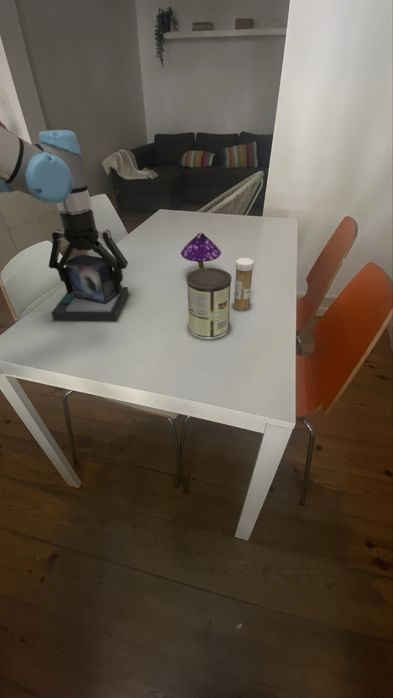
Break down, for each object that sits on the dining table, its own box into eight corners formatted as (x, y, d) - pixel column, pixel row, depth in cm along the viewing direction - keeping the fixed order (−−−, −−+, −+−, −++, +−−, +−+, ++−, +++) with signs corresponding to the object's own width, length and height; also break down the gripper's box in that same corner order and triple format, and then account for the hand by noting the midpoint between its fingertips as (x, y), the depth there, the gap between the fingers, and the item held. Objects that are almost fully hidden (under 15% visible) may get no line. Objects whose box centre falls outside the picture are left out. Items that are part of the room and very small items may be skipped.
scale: (53, 320, 85) (50, 310, 83) (73, 293, 97) (70, 283, 95) (116, 321, 84) (114, 310, 82) (128, 294, 96) (127, 284, 94)
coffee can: (198, 314, 86) (197, 264, 78) (234, 322, 83) (237, 271, 74) (181, 334, 79) (178, 282, 70) (219, 344, 76) (221, 290, 67)
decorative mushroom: (186, 270, 109) (185, 225, 100) (222, 272, 107) (224, 227, 98) (177, 286, 99) (174, 238, 90) (217, 289, 97) (218, 241, 88)
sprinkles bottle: (250, 310, 87) (255, 263, 79) (234, 311, 87) (237, 264, 79) (247, 302, 91) (252, 256, 83) (232, 302, 91) (234, 257, 83)
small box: (73, 298, 88) (62, 262, 81) (87, 288, 92) (78, 253, 86) (105, 305, 84) (97, 267, 78) (118, 294, 89) (112, 258, 83)
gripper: (131, 205, 77) (142, 285, 90) (31, 206, 78) (56, 285, 91) (124, 214, 71) (137, 298, 84) (16, 214, 72) (45, 297, 85)
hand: (95, 291), depth 87 cm, fingers open, 13 cm apart
